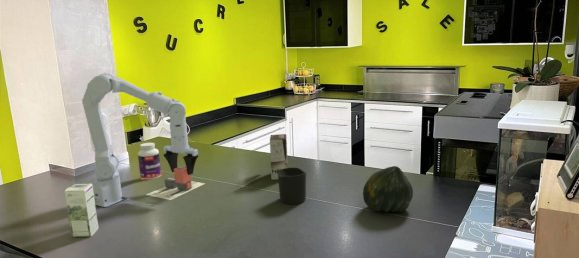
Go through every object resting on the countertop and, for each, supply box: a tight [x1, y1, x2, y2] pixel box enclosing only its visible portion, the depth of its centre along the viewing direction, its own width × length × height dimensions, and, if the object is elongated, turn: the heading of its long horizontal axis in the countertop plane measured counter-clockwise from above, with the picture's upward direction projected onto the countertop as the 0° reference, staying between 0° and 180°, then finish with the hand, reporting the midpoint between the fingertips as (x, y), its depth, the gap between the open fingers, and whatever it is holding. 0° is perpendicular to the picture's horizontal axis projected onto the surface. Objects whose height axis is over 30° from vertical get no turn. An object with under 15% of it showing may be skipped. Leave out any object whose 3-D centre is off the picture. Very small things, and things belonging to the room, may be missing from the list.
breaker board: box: [145, 180, 206, 201], centre depth 157 cm, size 18×12×1 cm, turn 151°
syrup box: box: [64, 183, 99, 238], centre depth 125 cm, size 6×6×14 cm
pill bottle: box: [137, 142, 162, 181], centre depth 172 cm, size 8×8×14 cm
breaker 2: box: [177, 180, 192, 191], centre depth 156 cm, size 3×5×3 cm, turn 61°
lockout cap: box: [173, 165, 192, 184], centre depth 155 cm, size 4×4×5 cm
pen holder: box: [277, 167, 307, 205], centre depth 145 cm, size 9×9×10 cm
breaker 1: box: [164, 176, 177, 189], centre depth 159 cm, size 3×4×3 cm
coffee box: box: [269, 133, 289, 180], centre depth 169 cm, size 9×6×16 cm
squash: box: [362, 165, 414, 213], centre depth 134 cm, size 14×15×15 cm
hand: (182, 172), depth 155 cm, fingers open, 7 cm apart
